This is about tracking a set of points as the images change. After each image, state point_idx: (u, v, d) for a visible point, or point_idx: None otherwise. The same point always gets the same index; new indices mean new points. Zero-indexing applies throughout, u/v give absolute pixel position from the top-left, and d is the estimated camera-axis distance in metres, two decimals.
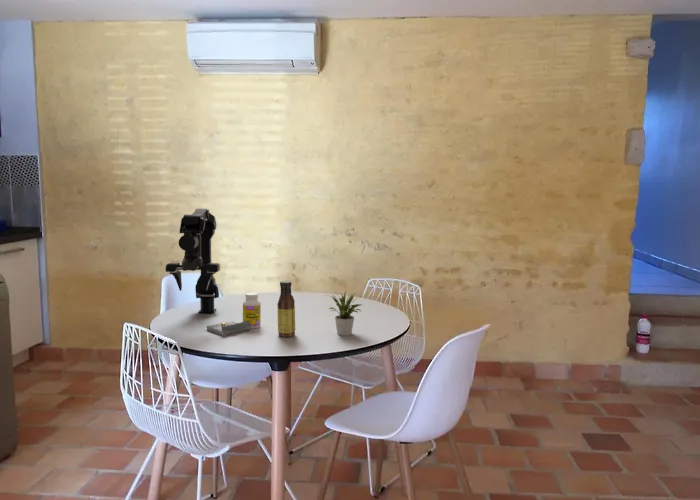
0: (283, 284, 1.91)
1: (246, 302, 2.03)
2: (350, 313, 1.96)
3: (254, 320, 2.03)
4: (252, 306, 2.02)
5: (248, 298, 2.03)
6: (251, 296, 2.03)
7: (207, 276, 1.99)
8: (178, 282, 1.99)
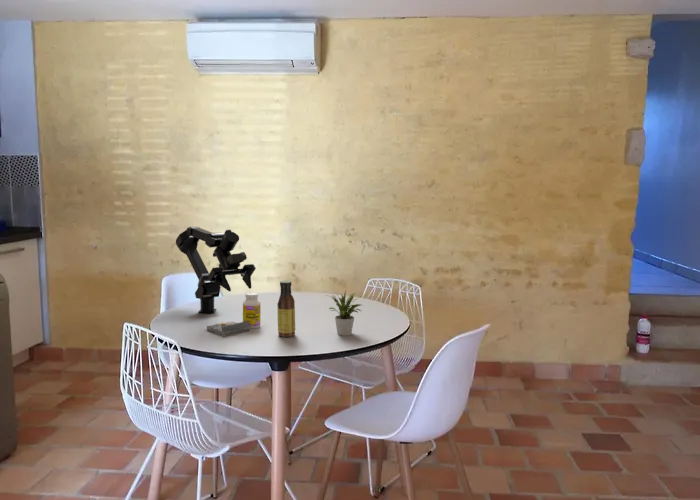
0: (283, 284, 1.91)
1: (246, 302, 2.03)
2: (350, 313, 1.96)
3: (254, 320, 2.03)
4: (252, 306, 2.02)
5: (248, 298, 2.03)
6: (251, 296, 2.03)
7: (248, 274, 2.16)
8: (227, 282, 2.08)
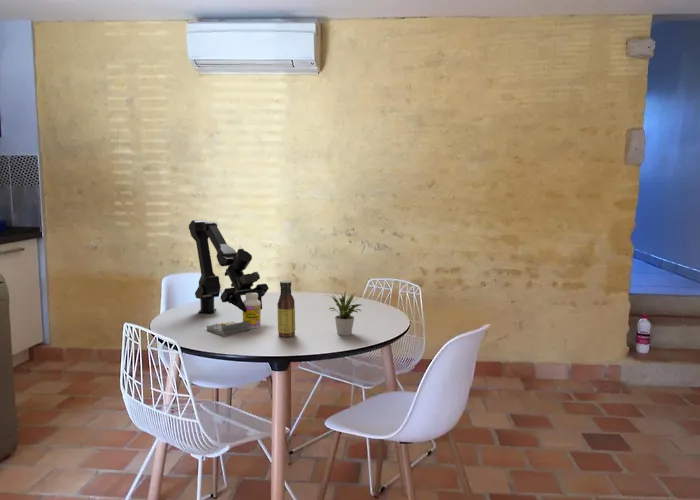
0: (283, 284, 1.91)
1: (246, 302, 2.03)
2: (350, 313, 1.96)
3: (254, 320, 2.03)
4: (252, 306, 2.02)
5: (248, 298, 2.03)
6: (251, 296, 2.03)
7: (259, 294, 2.09)
8: (242, 303, 2.03)
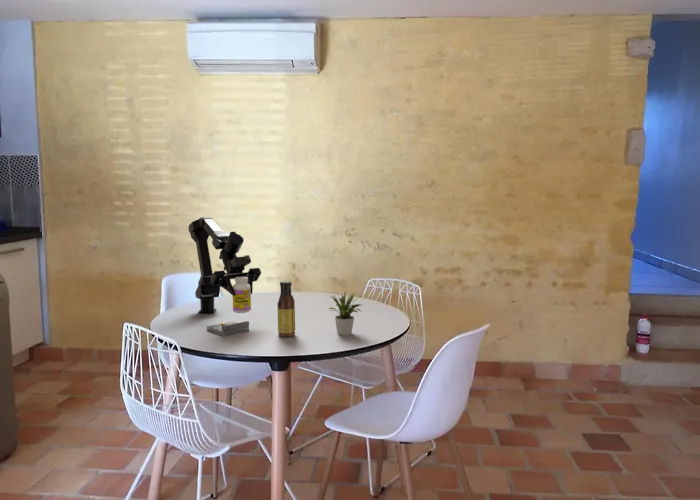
0: (283, 284, 1.91)
1: (235, 286, 2.00)
2: (350, 313, 1.96)
3: (243, 304, 2.00)
4: (241, 290, 1.99)
5: (237, 282, 2.00)
6: (240, 280, 1.99)
7: (250, 278, 2.05)
8: (231, 286, 2.00)
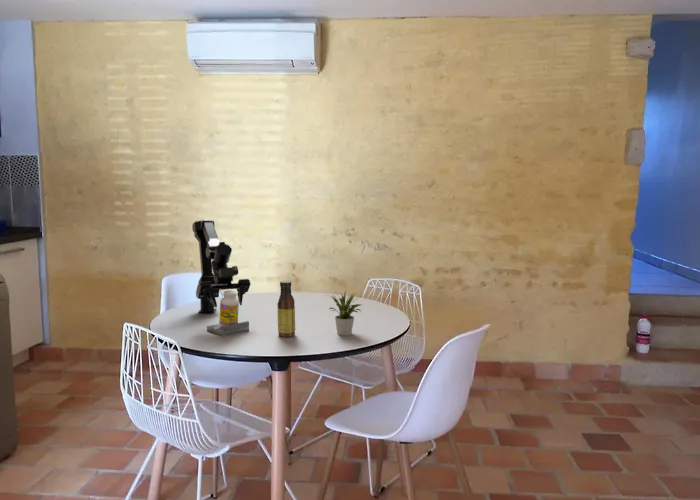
0: (283, 284, 1.91)
1: (222, 300, 1.97)
2: (350, 313, 1.96)
3: (228, 319, 1.97)
4: (227, 305, 1.96)
5: (225, 296, 1.97)
6: (227, 295, 1.96)
7: (241, 289, 2.03)
8: (213, 298, 1.97)
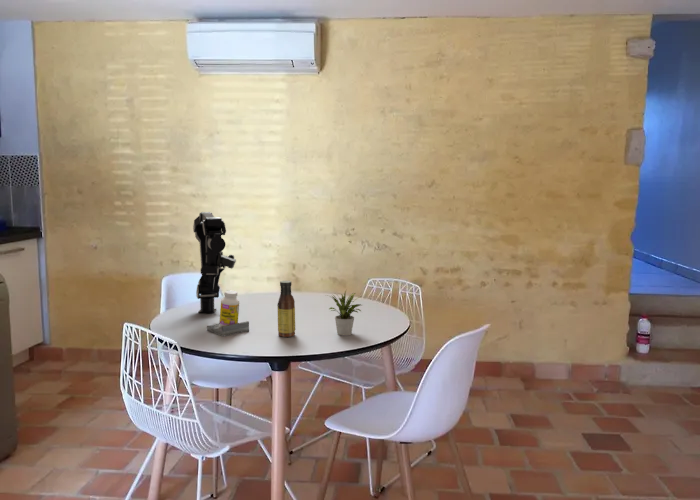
0: (283, 284, 1.91)
1: (223, 300, 1.97)
2: (350, 313, 1.96)
3: (229, 319, 1.97)
4: (228, 305, 1.96)
5: (225, 296, 1.97)
6: (228, 294, 1.96)
7: (220, 272, 2.18)
8: (214, 282, 2.08)
